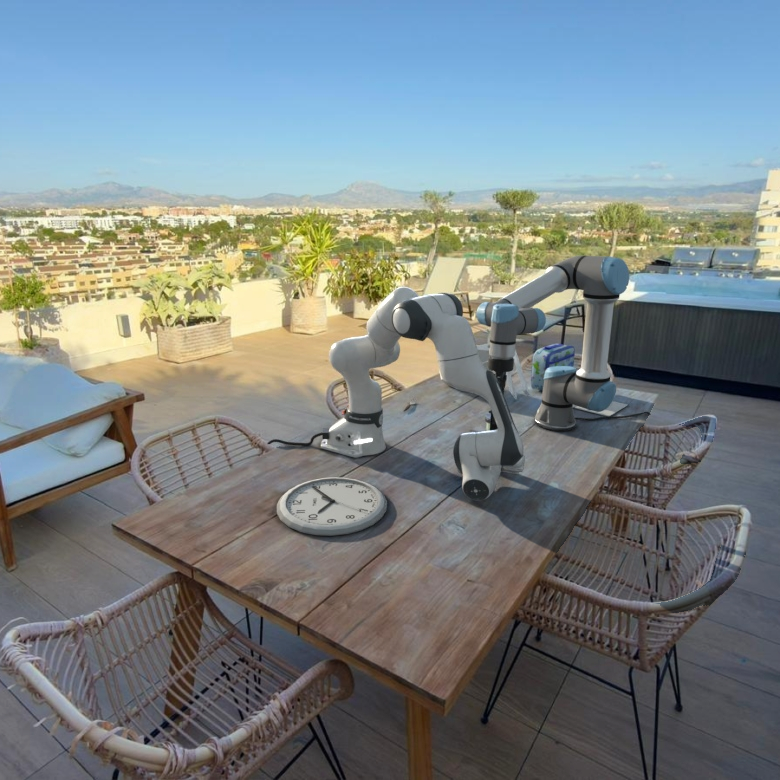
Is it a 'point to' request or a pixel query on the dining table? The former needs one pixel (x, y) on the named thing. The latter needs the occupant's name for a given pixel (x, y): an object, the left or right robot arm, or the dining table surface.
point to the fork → (411, 403)
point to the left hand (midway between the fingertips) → (494, 448)
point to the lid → (488, 418)
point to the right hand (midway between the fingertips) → (495, 428)
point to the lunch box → (550, 361)
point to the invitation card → (609, 411)
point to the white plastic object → (484, 355)
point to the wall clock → (331, 506)
